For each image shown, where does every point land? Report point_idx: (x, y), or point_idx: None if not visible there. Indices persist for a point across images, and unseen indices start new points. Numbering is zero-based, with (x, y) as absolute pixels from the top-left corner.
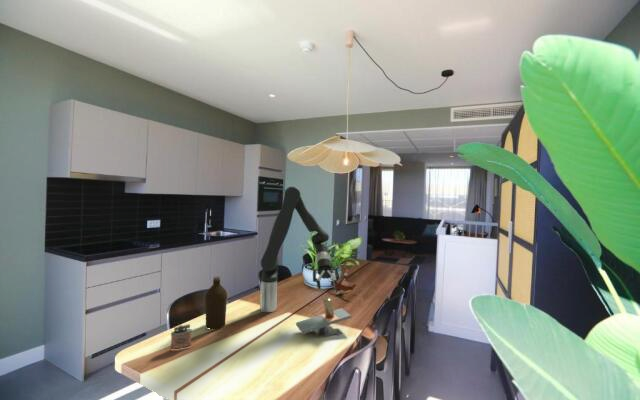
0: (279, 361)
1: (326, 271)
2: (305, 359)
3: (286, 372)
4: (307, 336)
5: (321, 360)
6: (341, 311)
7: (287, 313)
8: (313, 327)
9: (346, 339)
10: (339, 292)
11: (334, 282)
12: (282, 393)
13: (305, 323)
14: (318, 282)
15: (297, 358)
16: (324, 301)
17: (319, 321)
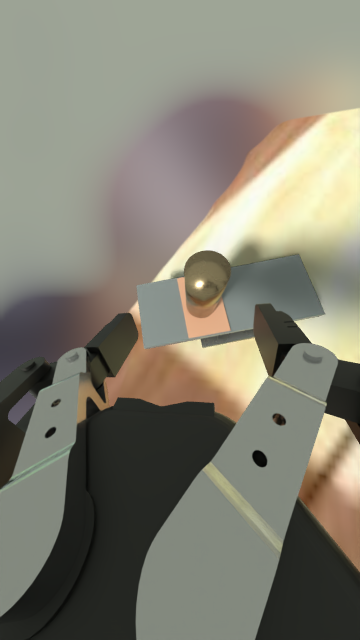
0: (345, 186)
1: (78, 595)
2: (281, 196)
3: (323, 158)
4: None
5: (246, 196)
6: (153, 322)
7: (356, 481)
8: (263, 262)
9: (175, 268)
10: None
11: (109, 332)
12: (326, 115)
13: (289, 295)
14: (290, 340)
15: (300, 198)
16: (227, 262)
17: (240, 289)
